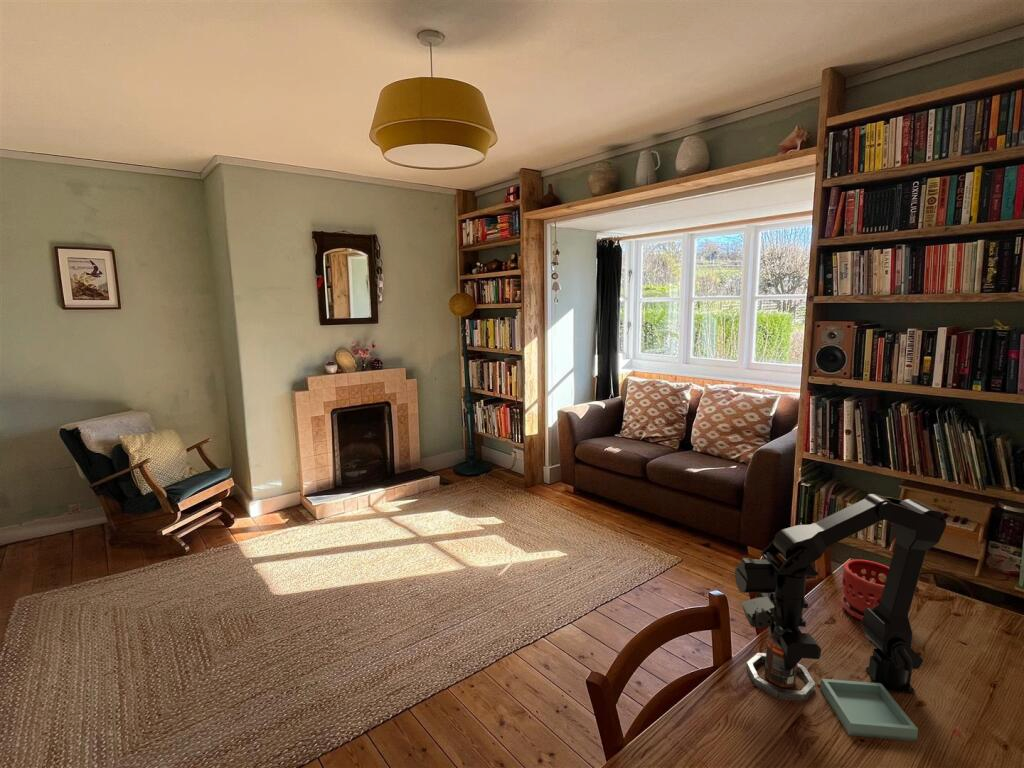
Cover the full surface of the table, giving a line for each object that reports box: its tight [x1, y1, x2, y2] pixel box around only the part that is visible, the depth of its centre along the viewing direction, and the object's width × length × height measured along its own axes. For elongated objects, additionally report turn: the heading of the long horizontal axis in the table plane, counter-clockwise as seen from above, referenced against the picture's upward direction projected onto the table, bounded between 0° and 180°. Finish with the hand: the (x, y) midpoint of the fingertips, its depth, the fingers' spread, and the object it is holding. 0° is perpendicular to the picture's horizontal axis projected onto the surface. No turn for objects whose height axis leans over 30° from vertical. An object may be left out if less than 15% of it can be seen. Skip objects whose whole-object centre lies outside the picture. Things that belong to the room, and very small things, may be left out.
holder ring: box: [746, 652, 816, 702], centre depth 112 cm, size 12×12×2 cm
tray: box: [819, 678, 919, 742], centre depth 103 cm, size 12×12×2 cm
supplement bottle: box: [764, 626, 799, 688], centre depth 111 cm, size 6×6×11 cm
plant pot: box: [840, 559, 890, 621], centre depth 134 cm, size 13×13×12 cm
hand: (781, 659), depth 111 cm, fingers closed on supplement bottle, 6 cm apart
